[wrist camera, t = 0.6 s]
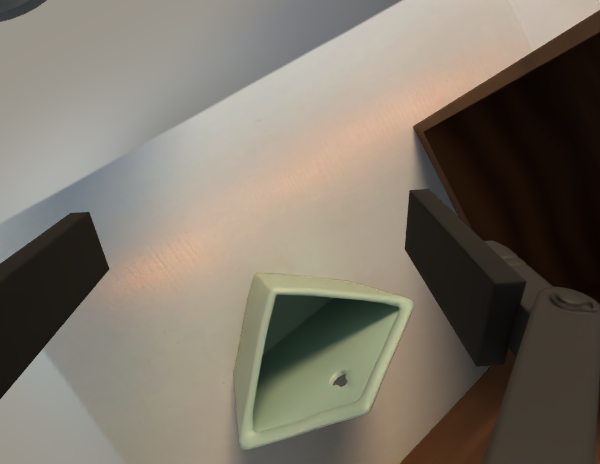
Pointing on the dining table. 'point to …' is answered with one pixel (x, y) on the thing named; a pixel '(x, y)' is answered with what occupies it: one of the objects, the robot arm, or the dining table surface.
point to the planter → (311, 354)
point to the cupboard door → (473, 423)
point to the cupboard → (531, 158)
